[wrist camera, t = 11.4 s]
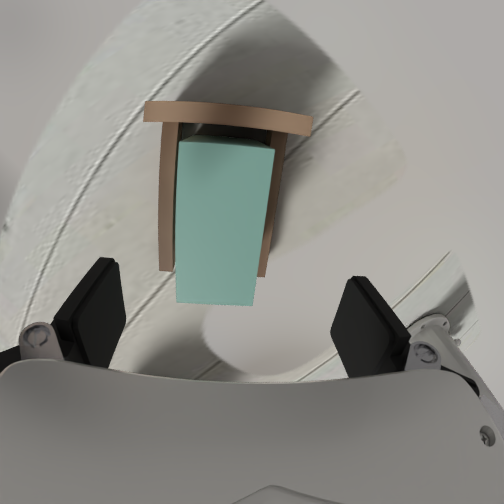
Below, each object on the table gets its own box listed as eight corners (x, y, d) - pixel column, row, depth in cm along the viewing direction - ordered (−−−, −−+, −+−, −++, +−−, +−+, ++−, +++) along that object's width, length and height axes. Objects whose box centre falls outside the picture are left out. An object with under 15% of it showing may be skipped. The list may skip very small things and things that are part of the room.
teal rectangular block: (254, 139, 22) (274, 149, 14) (241, 247, 26) (252, 305, 18) (194, 134, 21) (179, 141, 13) (188, 244, 25) (176, 302, 17)
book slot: (283, 118, 21) (313, 116, 14) (260, 263, 27) (275, 316, 20) (170, 108, 20) (145, 101, 13) (164, 257, 26) (146, 309, 19)
